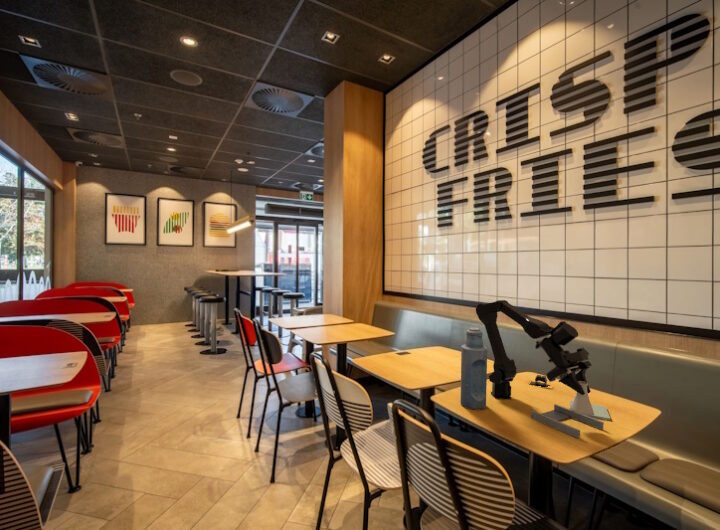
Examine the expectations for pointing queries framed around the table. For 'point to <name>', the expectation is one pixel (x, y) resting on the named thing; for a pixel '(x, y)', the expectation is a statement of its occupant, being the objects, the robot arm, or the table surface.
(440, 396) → the table surface
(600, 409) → the pad
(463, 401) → the bottle
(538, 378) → the black arched bracket
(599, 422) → the trough
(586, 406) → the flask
